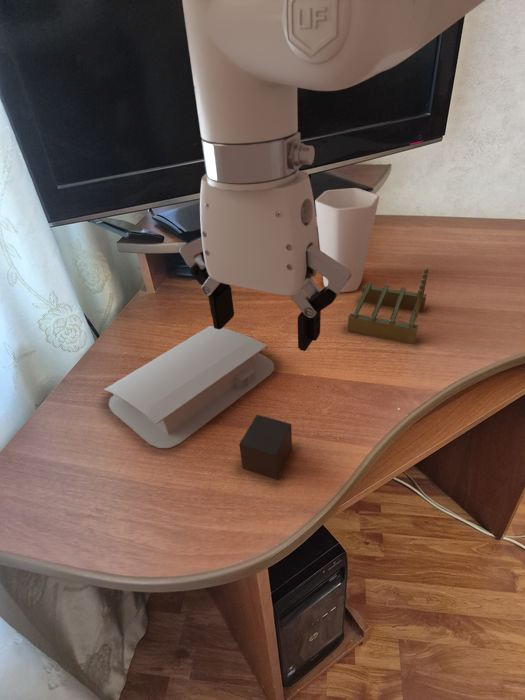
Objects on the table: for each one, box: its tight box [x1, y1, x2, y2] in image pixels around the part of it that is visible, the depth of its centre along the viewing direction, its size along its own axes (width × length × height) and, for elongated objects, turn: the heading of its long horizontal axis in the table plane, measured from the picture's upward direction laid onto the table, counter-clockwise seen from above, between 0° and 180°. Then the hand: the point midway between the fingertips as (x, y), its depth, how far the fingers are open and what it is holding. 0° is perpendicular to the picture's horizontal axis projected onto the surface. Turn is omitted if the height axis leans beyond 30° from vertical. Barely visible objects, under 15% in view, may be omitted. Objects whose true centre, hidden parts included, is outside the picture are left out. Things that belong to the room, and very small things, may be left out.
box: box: [238, 414, 293, 480], centre depth 53 cm, size 5×5×5 cm
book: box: [104, 325, 275, 449], centre depth 65 cm, size 15×23×4 cm, turn 137°
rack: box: [347, 267, 429, 345], centre depth 74 cm, size 11×11×9 cm
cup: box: [314, 187, 380, 293], centre depth 82 cm, size 11×10×17 cm
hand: (264, 332), depth 45 cm, fingers open, 9 cm apart
